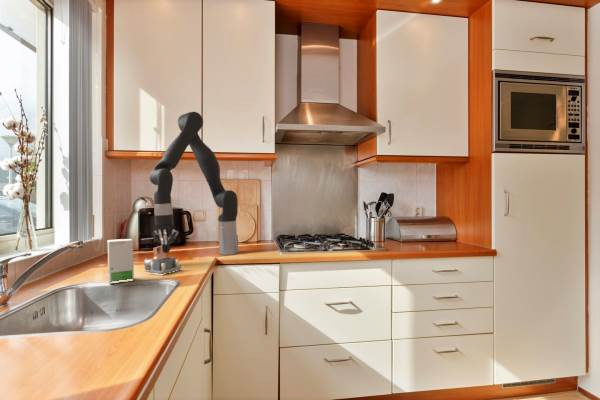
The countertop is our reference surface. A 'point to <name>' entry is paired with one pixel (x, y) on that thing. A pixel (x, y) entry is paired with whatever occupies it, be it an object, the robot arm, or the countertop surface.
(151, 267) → the peg board
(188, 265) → the countertop surface
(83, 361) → the countertop surface
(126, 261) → the skincare box
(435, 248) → the countertop surface
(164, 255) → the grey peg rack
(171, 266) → the steel bar
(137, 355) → the countertop surface
